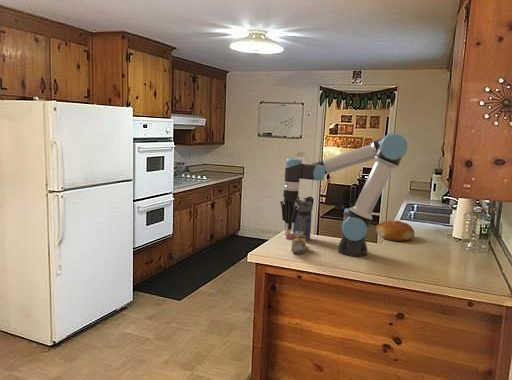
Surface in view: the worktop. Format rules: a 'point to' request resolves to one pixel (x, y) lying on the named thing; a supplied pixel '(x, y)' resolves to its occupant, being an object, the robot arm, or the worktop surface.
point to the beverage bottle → (304, 216)
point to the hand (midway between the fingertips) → (287, 235)
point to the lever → (294, 235)
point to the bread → (395, 231)
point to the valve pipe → (299, 245)
